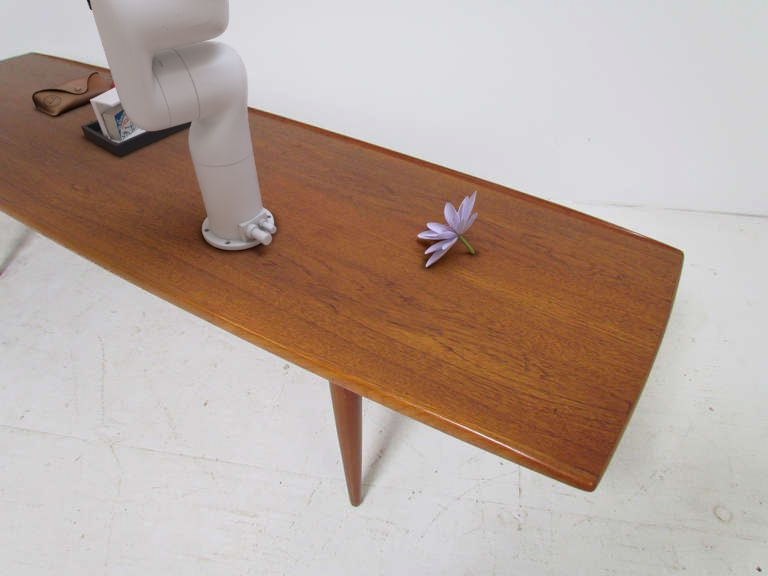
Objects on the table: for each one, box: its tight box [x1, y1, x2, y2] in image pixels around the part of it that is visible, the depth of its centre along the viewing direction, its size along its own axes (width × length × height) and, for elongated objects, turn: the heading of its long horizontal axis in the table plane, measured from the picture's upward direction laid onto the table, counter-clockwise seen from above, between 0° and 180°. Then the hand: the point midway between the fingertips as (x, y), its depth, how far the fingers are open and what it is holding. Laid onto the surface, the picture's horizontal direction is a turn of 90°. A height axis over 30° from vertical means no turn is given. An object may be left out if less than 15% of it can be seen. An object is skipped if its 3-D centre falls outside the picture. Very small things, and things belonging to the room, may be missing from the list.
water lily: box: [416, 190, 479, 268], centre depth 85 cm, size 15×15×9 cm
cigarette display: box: [90, 88, 146, 143], centre depth 112 cm, size 20×6×9 cm, turn 157°
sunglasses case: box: [31, 71, 111, 117], centre depth 124 cm, size 18×7×7 cm
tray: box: [80, 119, 192, 158], centre depth 115 cm, size 14×24×3 cm, turn 143°
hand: (113, 13), depth 95 cm, fingers open, 9 cm apart
